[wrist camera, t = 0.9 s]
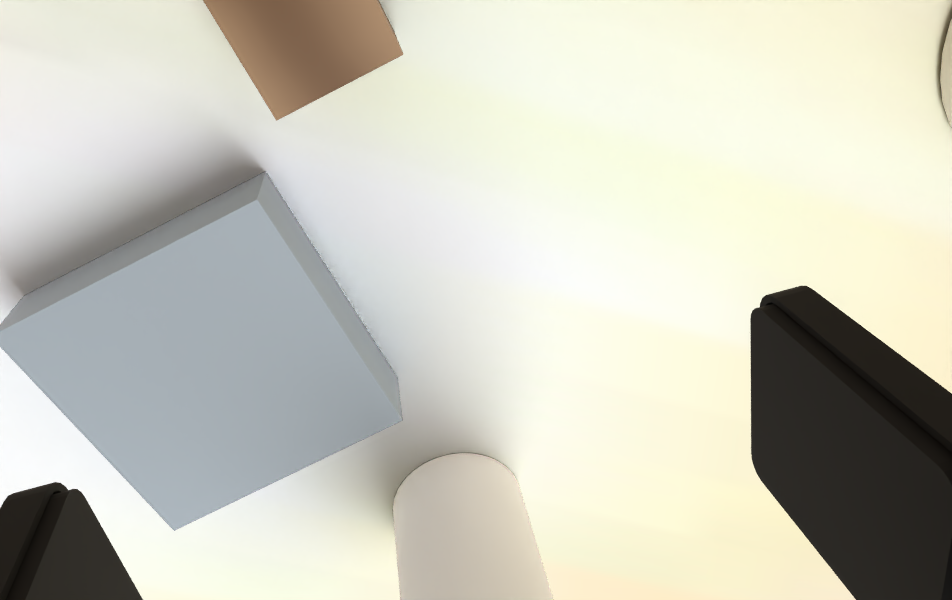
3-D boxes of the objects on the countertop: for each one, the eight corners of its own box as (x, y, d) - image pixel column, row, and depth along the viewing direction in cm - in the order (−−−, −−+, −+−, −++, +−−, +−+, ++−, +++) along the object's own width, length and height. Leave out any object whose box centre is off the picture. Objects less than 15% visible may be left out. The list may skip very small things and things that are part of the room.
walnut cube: (331, -93, 29) (329, -93, 24) (395, 33, 31) (403, 54, 27) (215, -30, 29) (191, -19, 25) (285, 90, 31) (276, 120, 27)
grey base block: (266, 168, 33) (257, 199, 29) (397, 373, 39) (402, 420, 35) (27, 291, 34) (-10, 336, 30) (189, 475, 39) (174, 530, 36)
